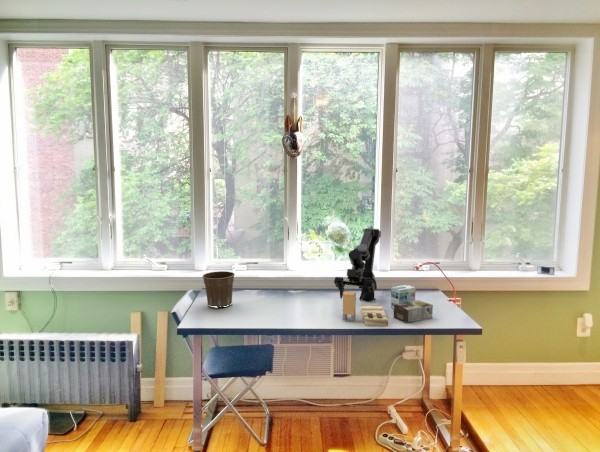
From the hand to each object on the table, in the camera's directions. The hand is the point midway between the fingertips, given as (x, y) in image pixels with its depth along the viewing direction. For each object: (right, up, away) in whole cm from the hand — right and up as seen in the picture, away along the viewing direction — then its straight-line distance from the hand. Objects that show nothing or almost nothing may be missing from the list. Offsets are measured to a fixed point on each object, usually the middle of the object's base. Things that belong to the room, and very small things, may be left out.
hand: (350, 299), depth 198 cm
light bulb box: (+28, -7, +16) cm, 33 cm away
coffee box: (+37, -5, +5) cm, 37 cm away
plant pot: (-65, -7, +22) cm, 69 cm away
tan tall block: (-1, -9, 0) cm, 9 cm away
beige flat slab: (+11, -9, +2) cm, 14 cm away
